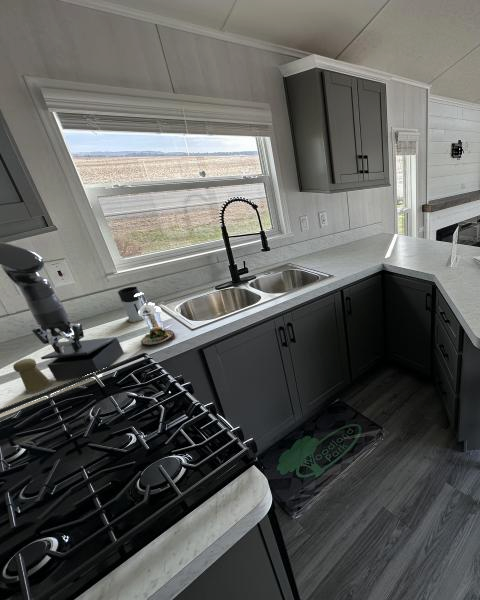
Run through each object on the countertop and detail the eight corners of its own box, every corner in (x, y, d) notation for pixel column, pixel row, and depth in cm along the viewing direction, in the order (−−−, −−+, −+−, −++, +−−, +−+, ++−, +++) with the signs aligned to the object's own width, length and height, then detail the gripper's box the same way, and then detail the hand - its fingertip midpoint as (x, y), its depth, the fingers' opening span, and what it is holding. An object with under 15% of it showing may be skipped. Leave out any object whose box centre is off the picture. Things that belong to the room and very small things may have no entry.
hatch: (87, 354, 116) (83, 341, 115) (41, 359, 114) (36, 346, 113) (117, 338, 131) (113, 326, 129) (76, 343, 129) (72, 331, 127)
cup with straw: (173, 327, 151) (157, 288, 143) (153, 337, 144) (136, 296, 135) (160, 324, 154) (144, 285, 146) (141, 334, 147) (123, 294, 138)
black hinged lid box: (100, 375, 121) (92, 359, 118) (56, 380, 119) (46, 365, 116) (124, 352, 134) (117, 338, 131) (84, 357, 132) (77, 343, 129)
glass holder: (141, 312, 168) (130, 285, 161) (162, 315, 163) (151, 288, 157) (124, 320, 160) (111, 292, 154) (145, 323, 156) (132, 295, 149)
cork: (52, 384, 117) (36, 359, 112) (29, 394, 112) (11, 368, 107) (47, 379, 120) (32, 354, 115) (24, 388, 115) (7, 363, 110)
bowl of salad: (135, 348, 136) (128, 333, 133) (154, 333, 147) (148, 319, 144) (164, 347, 136) (158, 331, 133) (180, 332, 147) (175, 317, 144)
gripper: (12, 315, 106) (38, 359, 113) (62, 311, 108) (84, 354, 115) (32, 306, 113) (56, 348, 120) (78, 302, 115) (99, 343, 122)
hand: (69, 351), depth 117 cm, fingers closed on hatch, 5 cm apart
